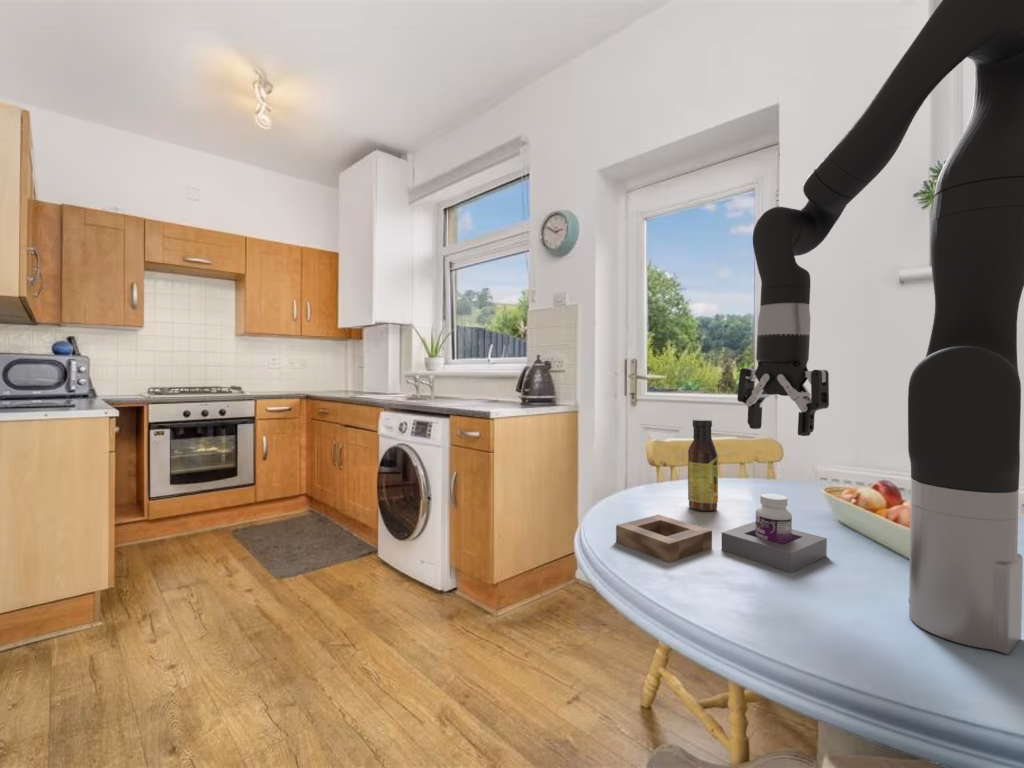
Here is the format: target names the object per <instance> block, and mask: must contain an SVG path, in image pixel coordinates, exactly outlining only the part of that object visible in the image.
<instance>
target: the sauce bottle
mask: <svg viewBox="0 0 1024 768" xmlns="http://www.w3.org/2000/svg"><path fill="white" fill-rule="evenodd" d="M692 427H693V436H692V438H693V440H692V442H691V443H690V446H689V447H688V450H687V451H688V453H687V454H688V455H687V456H688V458H687V459H688V460H687V493H688V494H687V499H688V507H689V508H690V507H691V509H693V510H696V511H699V512H701V511H703V512H711V511H715V510H717V509H718V502H719V471H718V470H719V467H718V465H719V464H718V463H719V459H718V457H719V456H718V453H717V451H716V448H715V445H714V442H713V439H712V427H713V420H712V419H705V418H704V419H703V418H702V419H692Z"/></svg>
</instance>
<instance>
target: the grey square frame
mask: <svg viewBox="0 0 1024 768" xmlns="http://www.w3.org/2000/svg"><path fill="white" fill-rule="evenodd" d="M755 529H756V521H752V522H751V523H747V524H743V525H741V526H737V527H734V528H731V529H728V530H726V531H725V530H724V531H722V532H721V551H724V552H728V553H731V554H734V555H737V556H740V557H742V558H745V559H748V560H752V561H754V562H758V563H761V564H763V565H767V566H770V567H773V568H777V569H779V570H781V571H782V570H783V571H785V572H789V573H794V572H796V571H798V570H800V569H802V568H804V567H806V566H808V565H810V564H813V563H815V562H817V561H819V560H821V559H823V558H824V559H825V558H826V557H827V555H828V553H827V549H828V548H827V546H828V544H827V543H828V541H827V540H828V539H827V537H823V536H819V535H817V534H812V533H807V532H804V531H800V530H795V529H792V534H791V542H789V543H786V544H784V545H782V544H778V543H775V542H771V541H768V540H764V539H761V538H757V537H756V531H755Z"/></svg>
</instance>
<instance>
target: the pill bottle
mask: <svg viewBox="0 0 1024 768" xmlns="http://www.w3.org/2000/svg"><path fill="white" fill-rule="evenodd" d="M759 497H760V500H759V502H760V505H759V506H758V507H757V508H756V510H755V522H756V529H755V531H756V537H757V538H761V539H764V540H768V541H771V542H775V543H778V544H782V545H784V544H786V543H789V542H791V534H792V525H793V524H792V523H793V522H792V519H793V517H792V512H791V511H790V510H789V509H788V508H786V507H788V497H787V496H785V495H782V494H777V493H762V494H760V496H759Z"/></svg>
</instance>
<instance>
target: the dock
mask: <svg viewBox="0 0 1024 768" xmlns="http://www.w3.org/2000/svg"><path fill="white" fill-rule="evenodd" d="M615 542H616V543H618V544H621V545H623V546H626V547H628V548H631V549H634V550H635V551H636V550H637V551H639V552H642V553H644V554H647V555H649V556H651V557H654V558H656V559H659V560H662V561H664V562H667V563H671V562H674V561H677V560H680V559H683V558H685V557H689V556H692V555H694V554H697V553H701V552H703V551H706V550H709V549H712V548H713V530H712V529H708V528H704V527H701V526H699V525H698V526H697V525H694V524H692V523H688V522H685V521H682V520H678V519H674V518H671V517H667V516H665V515H663V514H655V515H651V516H648V517H644V518H639V519H636V520H635V519H634V520H631V521H627V522H624V523H620V524H616V525H615Z"/></svg>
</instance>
